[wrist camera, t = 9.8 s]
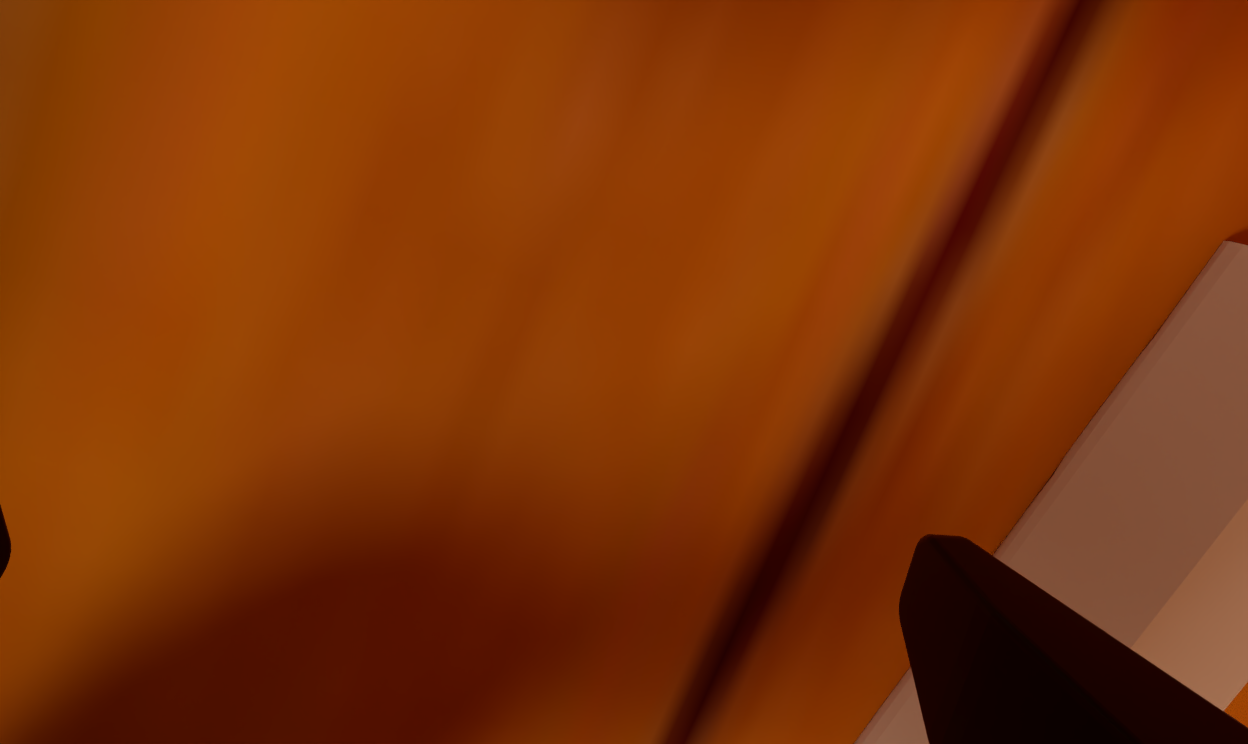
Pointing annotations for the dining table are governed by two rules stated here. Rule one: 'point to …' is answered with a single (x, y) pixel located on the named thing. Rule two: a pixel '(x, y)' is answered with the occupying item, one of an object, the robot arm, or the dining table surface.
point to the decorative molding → (1150, 506)
